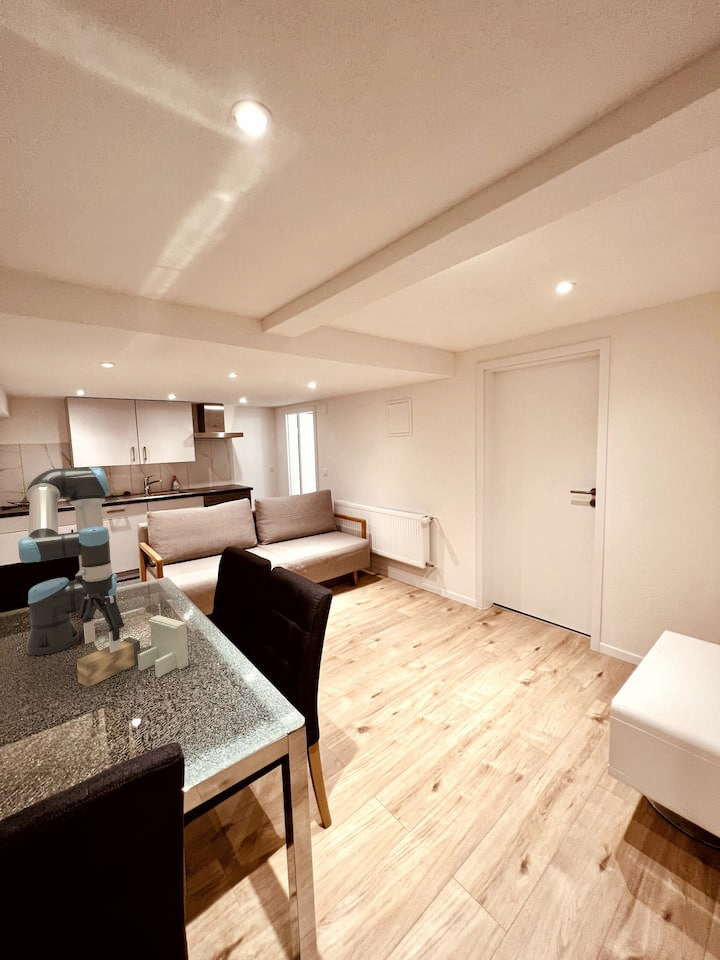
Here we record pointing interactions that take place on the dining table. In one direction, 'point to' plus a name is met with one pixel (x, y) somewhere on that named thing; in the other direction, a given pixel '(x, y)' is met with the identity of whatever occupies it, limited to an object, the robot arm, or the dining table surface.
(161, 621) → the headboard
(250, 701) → the dining table surface
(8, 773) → the dining table surface
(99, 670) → the tan and grey block
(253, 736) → the dining table surface
